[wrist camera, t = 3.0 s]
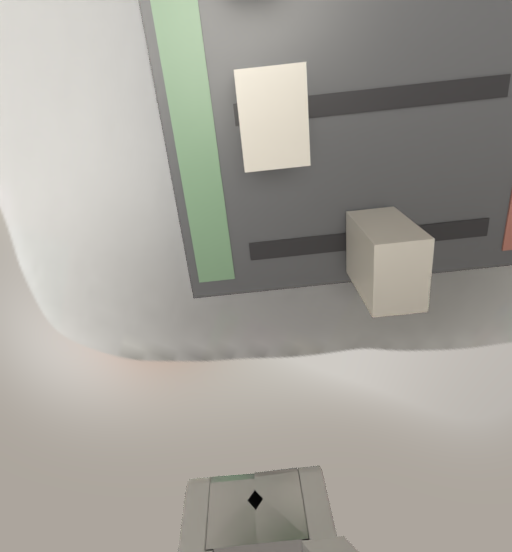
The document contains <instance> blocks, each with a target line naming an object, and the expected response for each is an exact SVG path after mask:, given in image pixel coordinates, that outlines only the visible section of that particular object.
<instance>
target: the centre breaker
mask: <svg viewBox="0 0 512 552" xmlns="http://www.w3.org/2000/svg"><path fill="white" fill-rule="evenodd" d="M234 79H235V88H236V97H237V106H238V115H239V124H240V134H241V143H242V152H243V161H244V170H245V173H246V172H256V171H265V170H274V169H284V168H293V167H302V166H311V164H310V140H309V116H308V92H307V68H306V62H299V63H290V64H281V65H272V66H263V67H253V68H244V69H235V70H234Z"/></svg>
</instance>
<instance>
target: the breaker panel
mask: <svg viewBox="0 0 512 552" xmlns="http://www.w3.org/2000/svg"><path fill="white" fill-rule="evenodd" d="M139 6H140V11H141V16H142V22H143V27H144V33H145V38H146V43H147V49H148V54H149V60H150V65H151V70H152V76H153V81H154V87H155V92H156V97H157V103H158V108H159V114H160V119H161V124H162V130H163V135H164V141H165V146H166V152H167V157H168V162H169V168H170V173H171V179H172V184H173V189H174V195H175V200H176V206H177V211H178V216H179V222H180V227H181V233H182V238H183V243H184V249H185V254H186V260H187V265H188V271H189V276H190V281H191V287H192V292H193V298H202V297H211V296H221V295H231V294H240V293H250V292H259V291H269V290H278V289H288V288H298V287H307V286H317V285H326V284H336V283H345V282H352V281H351V279H350V277H349V276H348V274H347V272H346V211H355V210H365V209H374V208H384V207H393V206H394V207H395V208H396V209H398V210H399V211H400V212H401V213H403V214H404V215H405V216H406V217H408V218H409V219H410V220H412V221H413V222H414V223H415V224H417V225H418V226H419V227H420V228H422V229H423V230H424V231H426V232H427V233H428V234H429V235H431V236H432V237H433V238H435V243H434V254H433V265H432V273H441V272H451V271H460V270H470V269H479V268H489V267H499V266H508V265H512V0H139ZM299 62H306V68H307V92H308V116H309V140H310V164H311V166H302V167H293V168H284V169H274V170H265V171H256V172H246V173H245V170H244V161H243V152H242V143H241V134H240V124H239V115H238V106H237V97H236V88H235V79H234V70H235V69H244V68H253V67H263V66H272V65H281V64H290V63H299Z"/></svg>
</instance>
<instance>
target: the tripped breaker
mask: <svg viewBox="0 0 512 552" xmlns="http://www.w3.org/2000/svg"><path fill="white" fill-rule="evenodd" d="M434 243H435V238H433V237H432V236H431V235H429V234H428V233H427V232H426V231H424V230H423V229H422V228H420V227H419V226H418V225H417V224H415V223H414V222H413V221H412V220H410V219H409V218H408V217H406V216H405V215H404V214H403V213H401V212H400V211H399V210H398V209H396V208H395V207H394V206H393V207H384V208H374V209H365V210H355V211H346V272H347V274H348V276H349V277H350V279H351V281H352V283H353V284H354V286H355V288H356V290H357V291H358V293H359V295H360V297H361V298H362V300H363V302H364V304H365V305H366V307H367V309H368V311H369V312H370V314H371V316H372V318H376V317H386V316H395V315H405V314H415V313H424V312H428V309H429V298H430V287H431V276H432V265H433V254H434Z"/></svg>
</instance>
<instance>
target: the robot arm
mask: <svg viewBox="0 0 512 552" xmlns="http://www.w3.org/2000/svg"><path fill="white" fill-rule="evenodd" d="M178 552H358V551H357V550H356V549H355V547H354V546H353V545H352V544H351V543H350V542H349V541H348V540H347V539H346V538H345V537H344V536H341V537H337V534H336V530H335V525H334V521H333V516H332V512H331V508H330V503H329V499H328V494H327V490H326V486H325V481H324V477H323V472H322V469H321V467H320V466H313V467H312V466H311V467H303V468H298V469H297V468H289V469H281V470H273V471H264V472H256V473H254V474H243V475H231V476H218V477H207V478H197V479H189V481H188V483H187V486H186V493H185V501H184V509H183V517H182V525H181V532H180V541H179V548H178Z"/></svg>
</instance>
